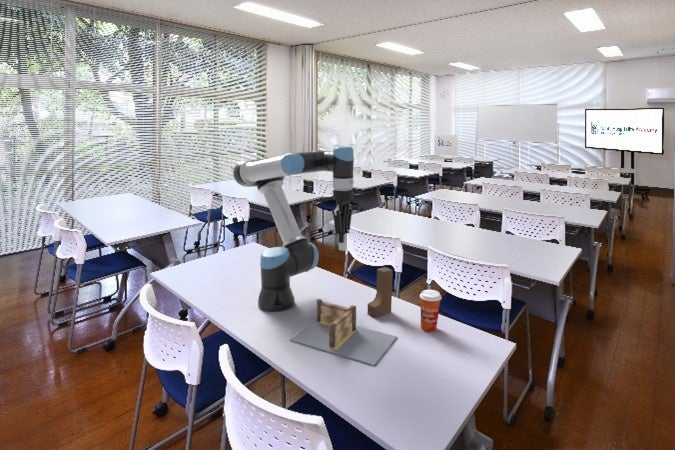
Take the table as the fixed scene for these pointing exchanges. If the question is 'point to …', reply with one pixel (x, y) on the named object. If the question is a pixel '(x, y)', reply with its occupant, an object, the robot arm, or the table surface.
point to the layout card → (347, 342)
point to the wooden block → (382, 293)
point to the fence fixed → (333, 312)
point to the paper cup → (429, 309)
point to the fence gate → (340, 328)
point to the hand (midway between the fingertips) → (342, 249)
